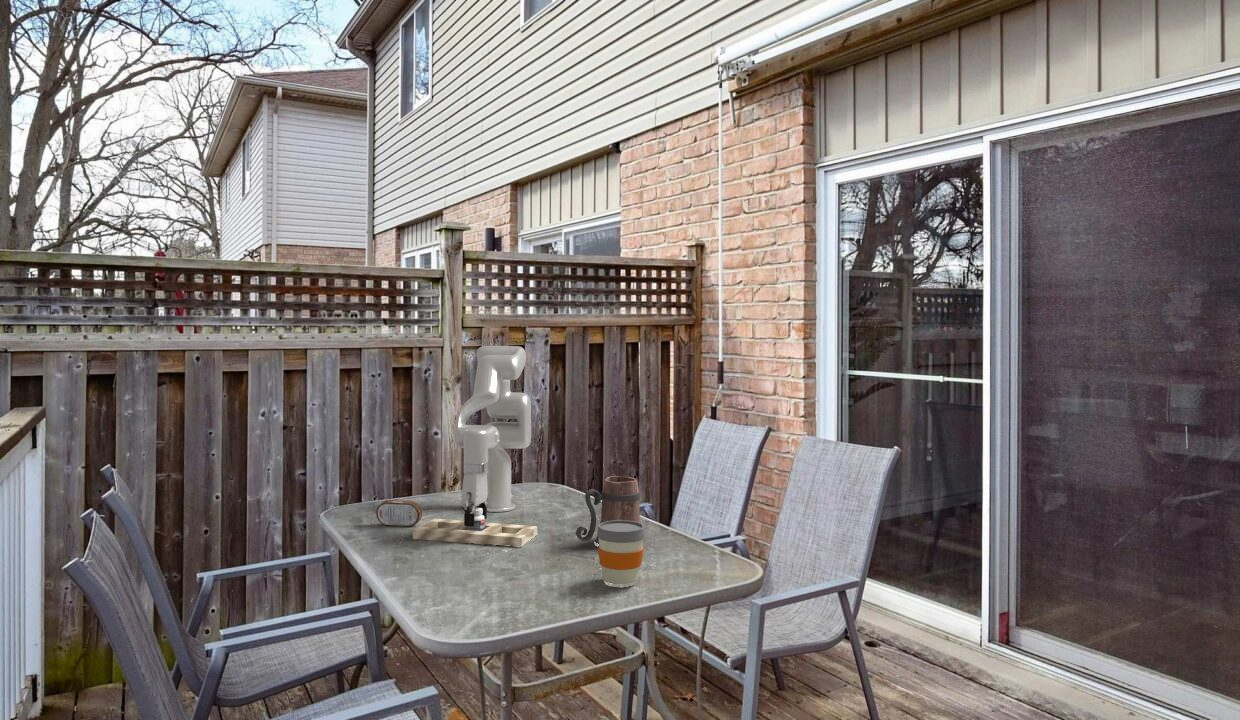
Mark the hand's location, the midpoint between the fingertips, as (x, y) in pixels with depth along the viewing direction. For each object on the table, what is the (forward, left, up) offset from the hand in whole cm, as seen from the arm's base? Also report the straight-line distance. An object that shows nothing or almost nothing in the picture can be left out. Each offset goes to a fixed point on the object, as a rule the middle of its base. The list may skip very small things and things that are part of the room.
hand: (475, 522), depth 247 cm
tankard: (-4, +43, -5) cm, 43 cm away
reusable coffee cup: (+30, +54, -5) cm, 62 cm away
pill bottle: (0, 0, -5) cm, 5 cm away
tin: (-6, -30, -5) cm, 31 cm away
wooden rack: (0, 0, -5) cm, 5 cm away
